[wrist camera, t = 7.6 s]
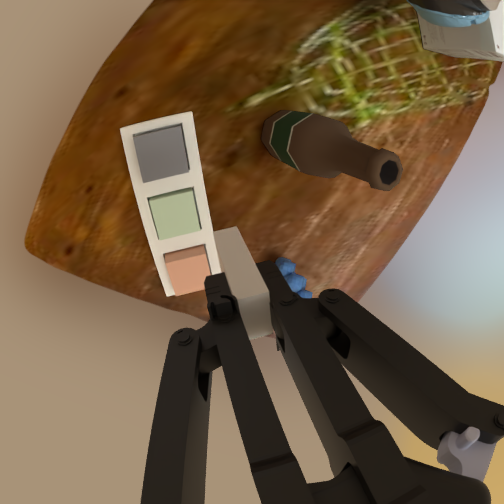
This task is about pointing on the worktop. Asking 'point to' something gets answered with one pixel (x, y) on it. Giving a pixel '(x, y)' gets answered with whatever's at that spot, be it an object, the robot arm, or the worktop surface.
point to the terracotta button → (187, 269)
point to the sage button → (174, 213)
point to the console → (167, 185)
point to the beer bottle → (328, 149)
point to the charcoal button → (161, 153)
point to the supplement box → (467, 38)
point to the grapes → (293, 277)
